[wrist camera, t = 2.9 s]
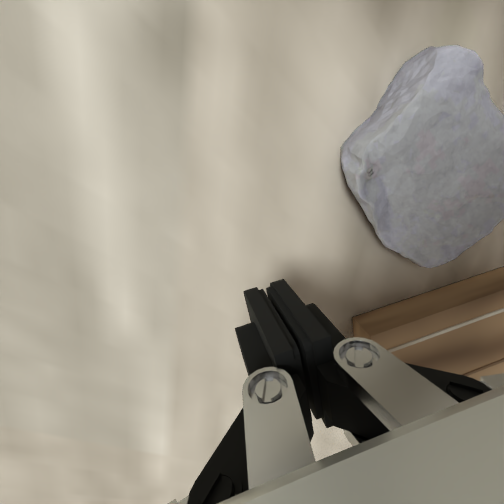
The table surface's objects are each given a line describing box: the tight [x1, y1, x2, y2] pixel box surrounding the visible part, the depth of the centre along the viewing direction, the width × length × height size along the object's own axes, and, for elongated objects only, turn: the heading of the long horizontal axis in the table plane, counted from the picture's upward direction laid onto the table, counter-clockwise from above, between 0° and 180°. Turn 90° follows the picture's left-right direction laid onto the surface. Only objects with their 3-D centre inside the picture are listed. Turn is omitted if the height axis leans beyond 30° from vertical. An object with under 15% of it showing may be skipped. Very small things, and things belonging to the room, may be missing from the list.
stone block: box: [341, 45, 504, 268], centre depth 19 cm, size 12×5×10 cm
